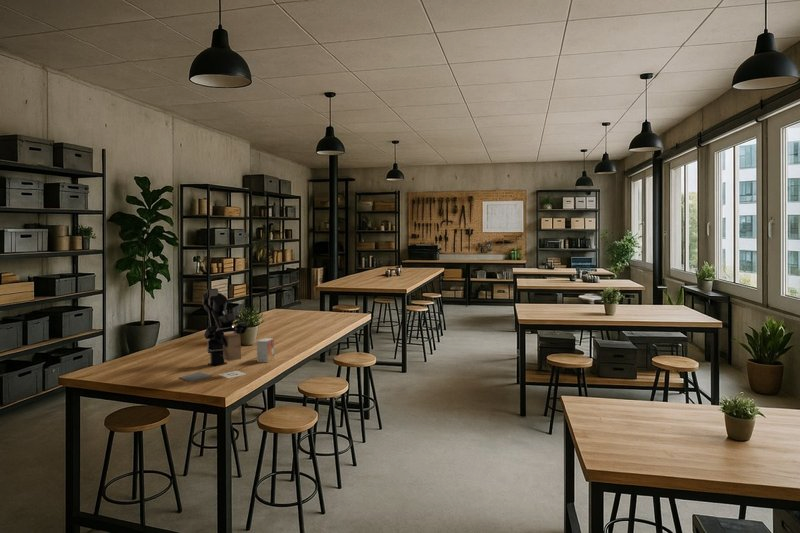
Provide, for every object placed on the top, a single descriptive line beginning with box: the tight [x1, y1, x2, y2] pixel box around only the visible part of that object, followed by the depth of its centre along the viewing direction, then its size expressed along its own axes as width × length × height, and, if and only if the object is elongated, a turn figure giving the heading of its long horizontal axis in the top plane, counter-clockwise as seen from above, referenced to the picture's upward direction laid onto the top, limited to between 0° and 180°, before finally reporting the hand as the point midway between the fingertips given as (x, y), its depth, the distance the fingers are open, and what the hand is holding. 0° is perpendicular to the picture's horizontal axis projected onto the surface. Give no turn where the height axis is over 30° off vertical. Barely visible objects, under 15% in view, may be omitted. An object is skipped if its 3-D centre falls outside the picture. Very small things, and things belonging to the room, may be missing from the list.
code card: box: [218, 370, 247, 379], centre depth 232 cm, size 9×9×1 cm
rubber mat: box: [178, 372, 214, 383], centre depth 227 cm, size 10×10×1 cm
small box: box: [256, 337, 275, 363], centre depth 257 cm, size 8×6×10 cm
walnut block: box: [223, 332, 242, 362], centre depth 231 cm, size 6×6×11 cm
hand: (233, 345), depth 230 cm, fingers closed on walnut block, 6 cm apart
